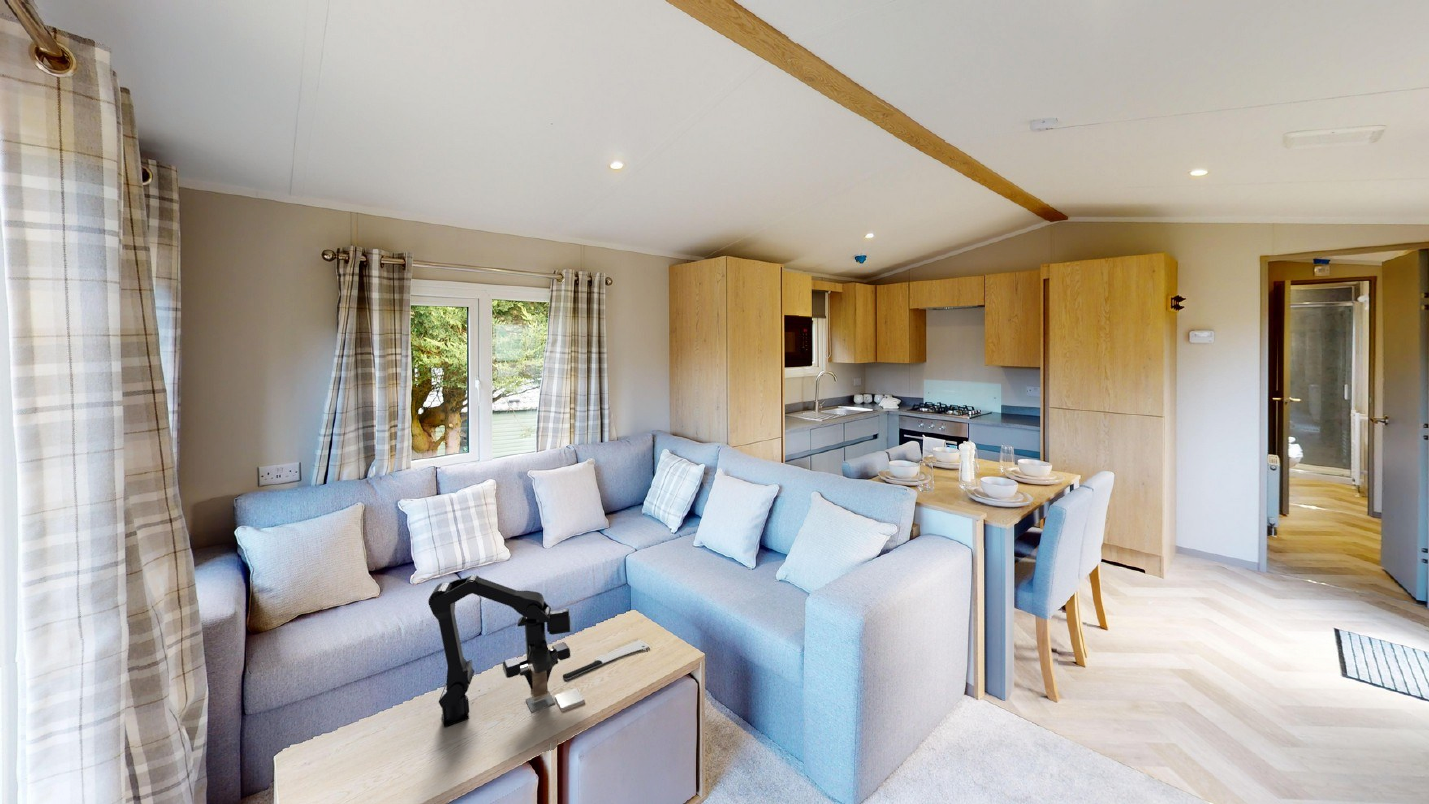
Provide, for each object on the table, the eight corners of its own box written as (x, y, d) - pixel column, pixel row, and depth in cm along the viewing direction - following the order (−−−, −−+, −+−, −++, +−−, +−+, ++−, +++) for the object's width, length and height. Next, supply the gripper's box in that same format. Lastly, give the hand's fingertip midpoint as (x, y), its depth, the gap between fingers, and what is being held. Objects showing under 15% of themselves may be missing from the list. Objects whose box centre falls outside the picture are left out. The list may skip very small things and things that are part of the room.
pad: (531, 712, 158) (531, 711, 158) (525, 700, 164) (525, 699, 164) (555, 703, 162) (555, 702, 162) (548, 691, 168) (548, 690, 168)
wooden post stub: (534, 701, 160) (532, 672, 159) (530, 694, 164) (529, 666, 163) (548, 696, 162) (546, 668, 162) (544, 689, 166) (542, 661, 165)
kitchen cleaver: (637, 636, 199) (650, 643, 191) (637, 640, 199) (651, 648, 191) (555, 668, 180) (566, 678, 172) (555, 673, 180) (567, 683, 172)
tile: (555, 700, 164) (561, 713, 159) (554, 695, 164) (561, 708, 158) (577, 692, 168) (584, 704, 162) (577, 687, 168) (584, 699, 162)
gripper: (508, 659, 150) (512, 712, 151) (574, 638, 160) (577, 688, 161) (500, 641, 159) (504, 692, 160) (563, 623, 169) (566, 670, 170)
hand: (538, 686), depth 163 cm, fingers closed on wooden post stub, 4 cm apart
